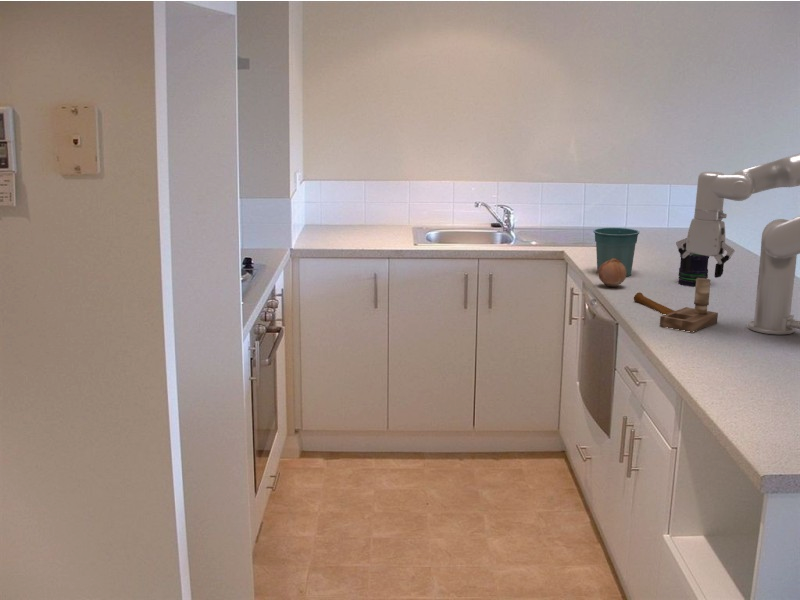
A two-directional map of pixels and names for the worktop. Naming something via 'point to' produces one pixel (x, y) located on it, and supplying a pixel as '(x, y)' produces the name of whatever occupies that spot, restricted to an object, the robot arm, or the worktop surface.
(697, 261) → the storage jar
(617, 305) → the worktop surface
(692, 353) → the worktop surface
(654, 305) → the primitive tool
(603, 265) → the onion
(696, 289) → the peg
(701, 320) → the board
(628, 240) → the flower pot
